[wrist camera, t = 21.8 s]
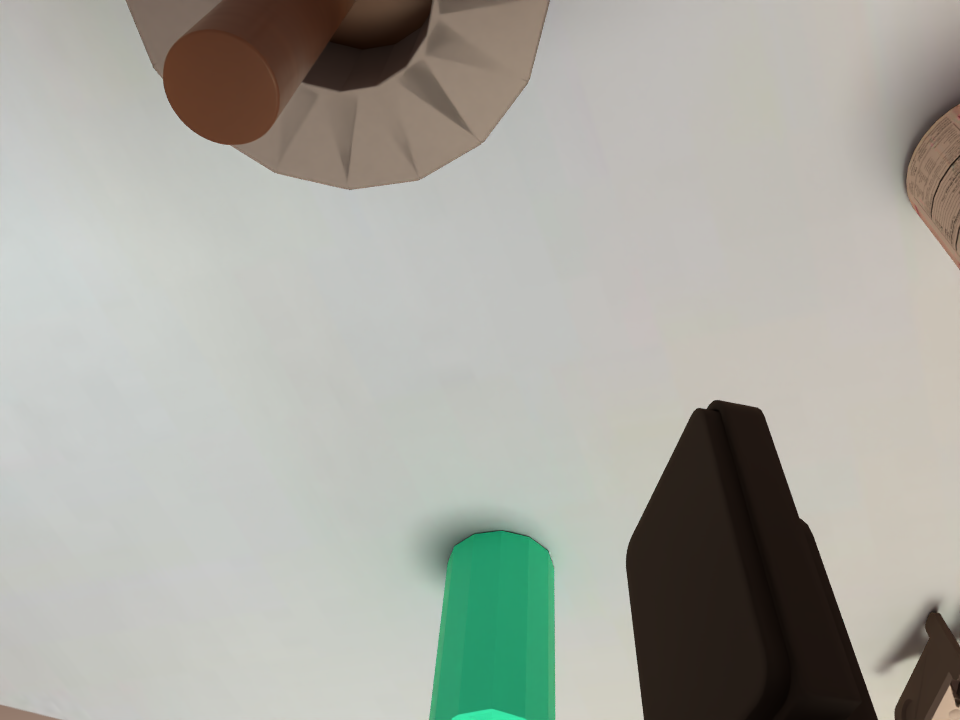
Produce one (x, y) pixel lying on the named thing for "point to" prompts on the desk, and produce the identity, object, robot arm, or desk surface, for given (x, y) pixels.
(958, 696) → the clip-on lamp
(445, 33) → the tape
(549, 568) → the candle
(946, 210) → the beverage can
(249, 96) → the rack
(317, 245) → the desk surface
